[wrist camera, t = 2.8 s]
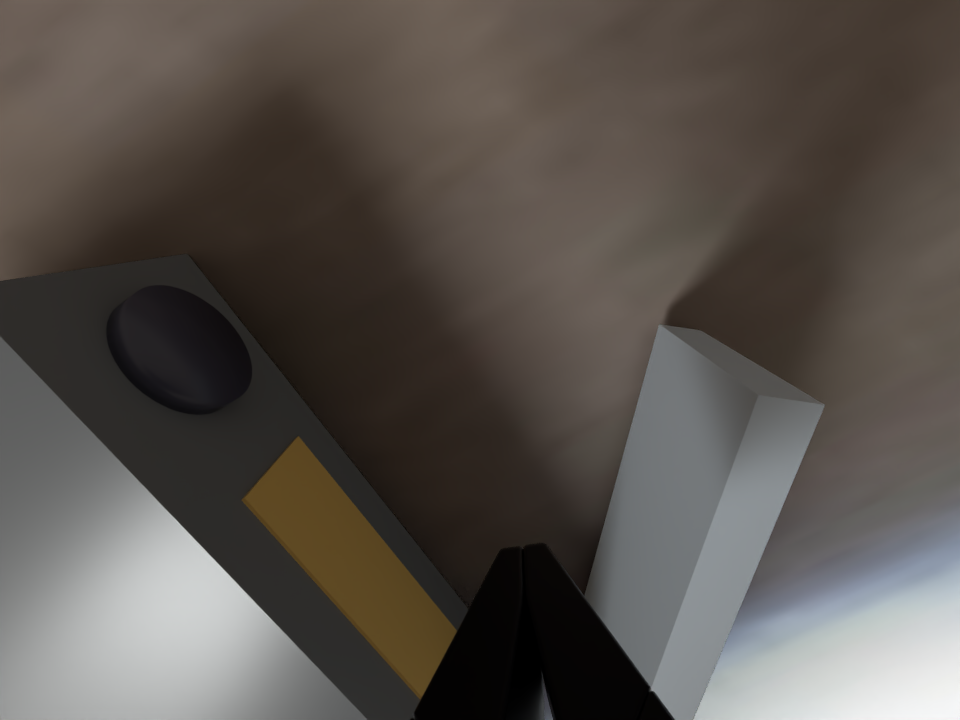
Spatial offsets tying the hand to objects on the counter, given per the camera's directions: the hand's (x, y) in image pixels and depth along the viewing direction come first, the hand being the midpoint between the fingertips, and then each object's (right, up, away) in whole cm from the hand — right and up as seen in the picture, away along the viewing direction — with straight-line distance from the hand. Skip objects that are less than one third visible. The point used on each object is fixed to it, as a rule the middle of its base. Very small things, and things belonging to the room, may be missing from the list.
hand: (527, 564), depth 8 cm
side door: (+4, -3, +7) cm, 9 cm away
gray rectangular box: (-8, -4, +8) cm, 12 cm away
